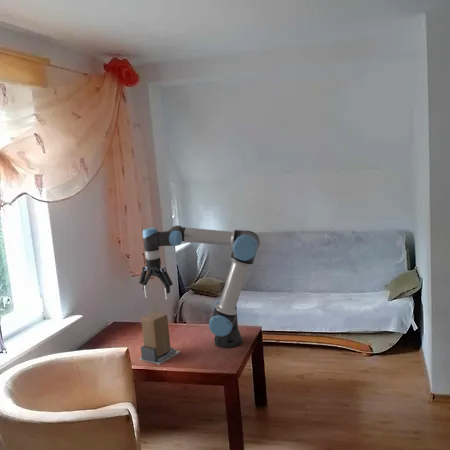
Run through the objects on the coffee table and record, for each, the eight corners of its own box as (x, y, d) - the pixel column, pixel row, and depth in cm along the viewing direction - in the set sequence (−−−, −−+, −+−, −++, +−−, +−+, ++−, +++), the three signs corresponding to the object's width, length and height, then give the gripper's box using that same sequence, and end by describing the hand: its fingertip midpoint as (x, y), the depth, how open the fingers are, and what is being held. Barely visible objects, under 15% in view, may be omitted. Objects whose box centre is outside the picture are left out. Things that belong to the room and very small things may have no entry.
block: (144, 353, 282) (140, 317, 278) (158, 347, 289) (154, 311, 286) (157, 357, 275) (153, 320, 272) (171, 350, 283) (167, 314, 279)
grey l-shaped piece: (179, 352, 286) (178, 339, 285) (159, 364, 273) (157, 350, 272) (159, 348, 294) (158, 335, 293) (138, 360, 281) (137, 346, 280)
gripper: (176, 257, 275) (181, 297, 279) (139, 255, 289) (143, 293, 292) (167, 260, 269) (172, 302, 273) (129, 258, 283) (134, 298, 286)
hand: (157, 297), depth 282 cm, fingers open, 13 cm apart
